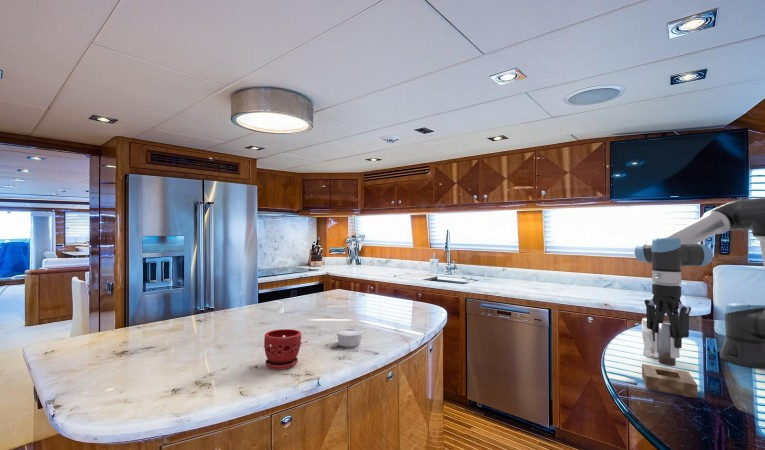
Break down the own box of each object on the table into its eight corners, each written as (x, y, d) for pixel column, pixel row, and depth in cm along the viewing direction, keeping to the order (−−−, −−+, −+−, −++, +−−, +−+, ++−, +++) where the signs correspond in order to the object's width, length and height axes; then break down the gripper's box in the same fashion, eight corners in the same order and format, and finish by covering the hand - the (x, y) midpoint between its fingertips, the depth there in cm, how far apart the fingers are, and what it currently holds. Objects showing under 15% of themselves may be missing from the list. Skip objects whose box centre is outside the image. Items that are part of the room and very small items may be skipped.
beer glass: (667, 359, 139) (666, 321, 139) (647, 358, 140) (647, 320, 140) (657, 353, 145) (656, 317, 146) (638, 352, 147) (638, 317, 147)
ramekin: (358, 339, 161) (358, 327, 161) (364, 346, 150) (365, 334, 150) (334, 341, 157) (334, 329, 157) (339, 349, 147) (339, 336, 147)
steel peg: (674, 363, 115) (674, 323, 115) (676, 367, 111) (676, 326, 111) (657, 360, 117) (657, 321, 117) (659, 364, 113) (659, 324, 114)
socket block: (688, 383, 116) (688, 371, 116) (697, 398, 105) (697, 385, 105) (642, 375, 122) (641, 363, 122) (646, 388, 112) (645, 375, 112)
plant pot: (299, 371, 122) (300, 336, 123) (260, 372, 120) (261, 338, 121) (301, 358, 135) (302, 327, 136) (267, 359, 133) (267, 328, 133)
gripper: (632, 280, 122) (633, 347, 122) (685, 288, 105) (686, 365, 105) (649, 280, 124) (650, 346, 123) (704, 287, 107) (705, 363, 106)
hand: (667, 354), depth 114 cm, fingers closed on steel peg, 4 cm apart
